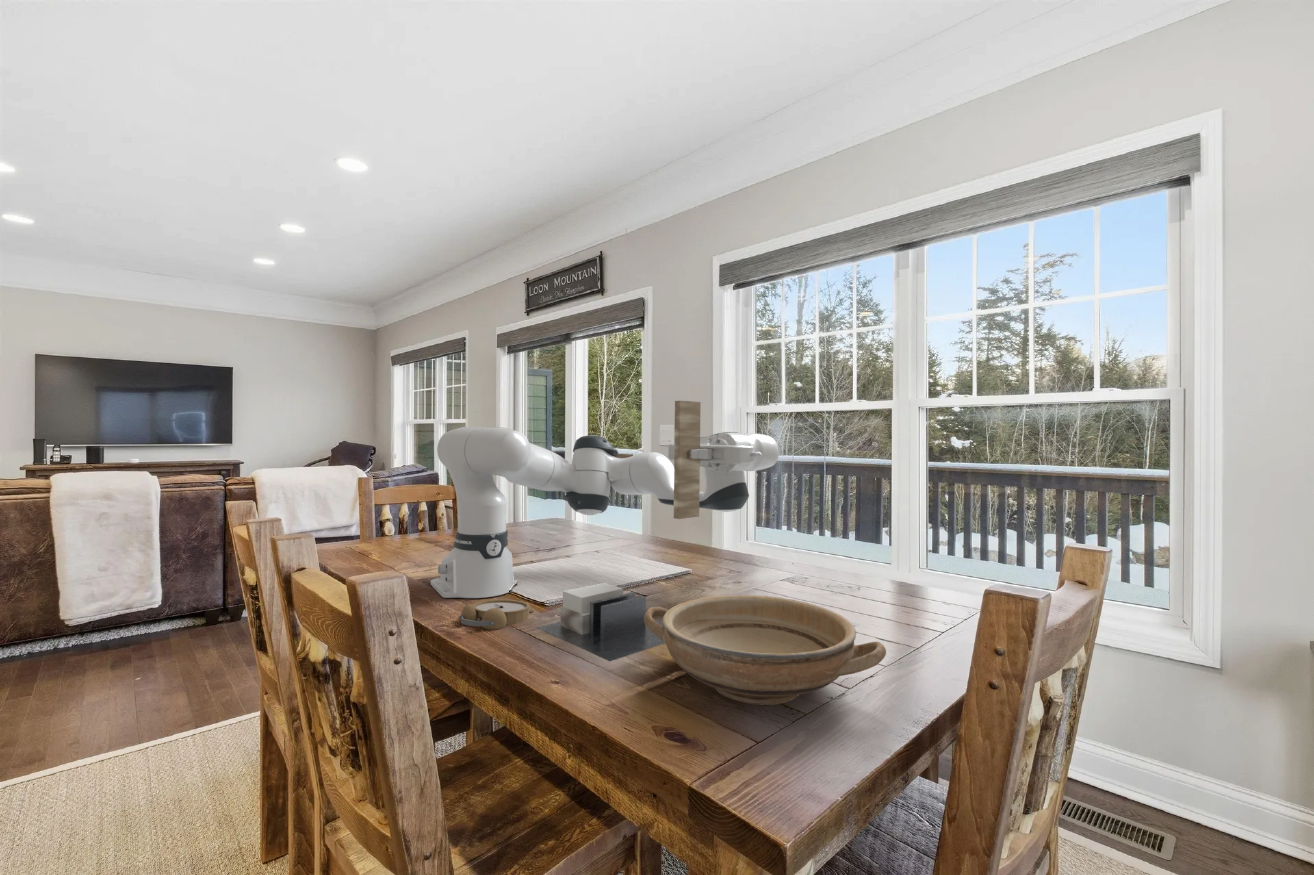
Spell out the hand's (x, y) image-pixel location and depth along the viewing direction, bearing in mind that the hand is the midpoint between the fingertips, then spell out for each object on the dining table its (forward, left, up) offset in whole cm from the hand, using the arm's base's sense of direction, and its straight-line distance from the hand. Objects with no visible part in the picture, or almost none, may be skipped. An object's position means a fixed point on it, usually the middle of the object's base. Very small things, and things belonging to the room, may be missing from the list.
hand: (684, 453), depth 121 cm
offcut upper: (-7, -18, -29) cm, 35 cm away
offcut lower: (-7, -17, -33) cm, 38 cm away
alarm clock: (-22, -31, -34) cm, 51 cm away
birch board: (0, +1, -13) cm, 13 cm away
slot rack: (0, -17, -34) cm, 38 cm away
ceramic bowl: (+30, -15, -34) cm, 48 cm away
